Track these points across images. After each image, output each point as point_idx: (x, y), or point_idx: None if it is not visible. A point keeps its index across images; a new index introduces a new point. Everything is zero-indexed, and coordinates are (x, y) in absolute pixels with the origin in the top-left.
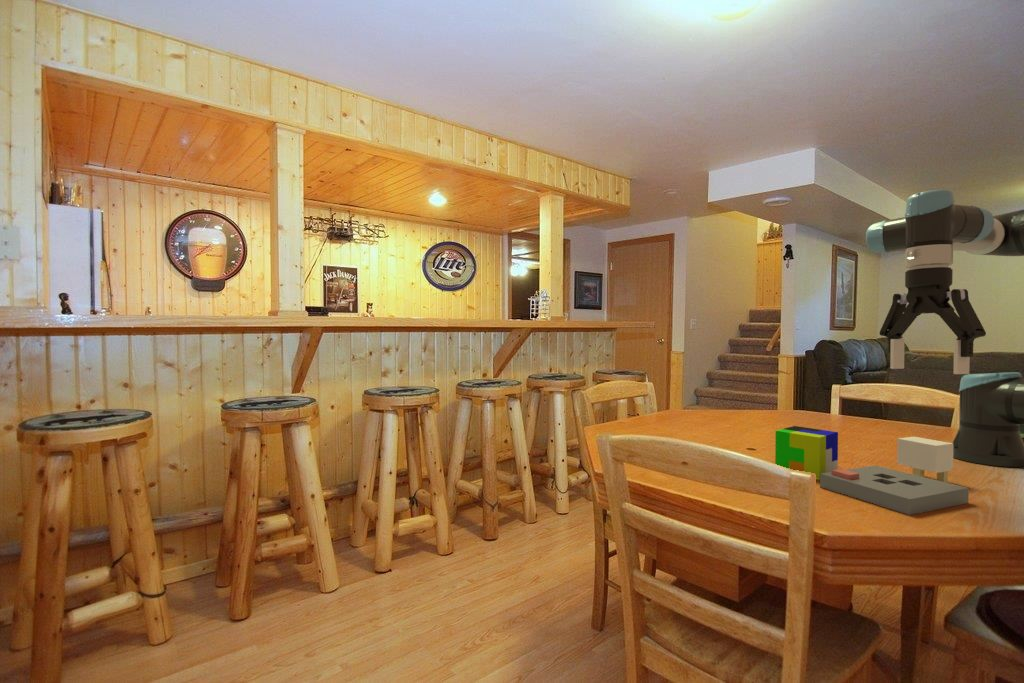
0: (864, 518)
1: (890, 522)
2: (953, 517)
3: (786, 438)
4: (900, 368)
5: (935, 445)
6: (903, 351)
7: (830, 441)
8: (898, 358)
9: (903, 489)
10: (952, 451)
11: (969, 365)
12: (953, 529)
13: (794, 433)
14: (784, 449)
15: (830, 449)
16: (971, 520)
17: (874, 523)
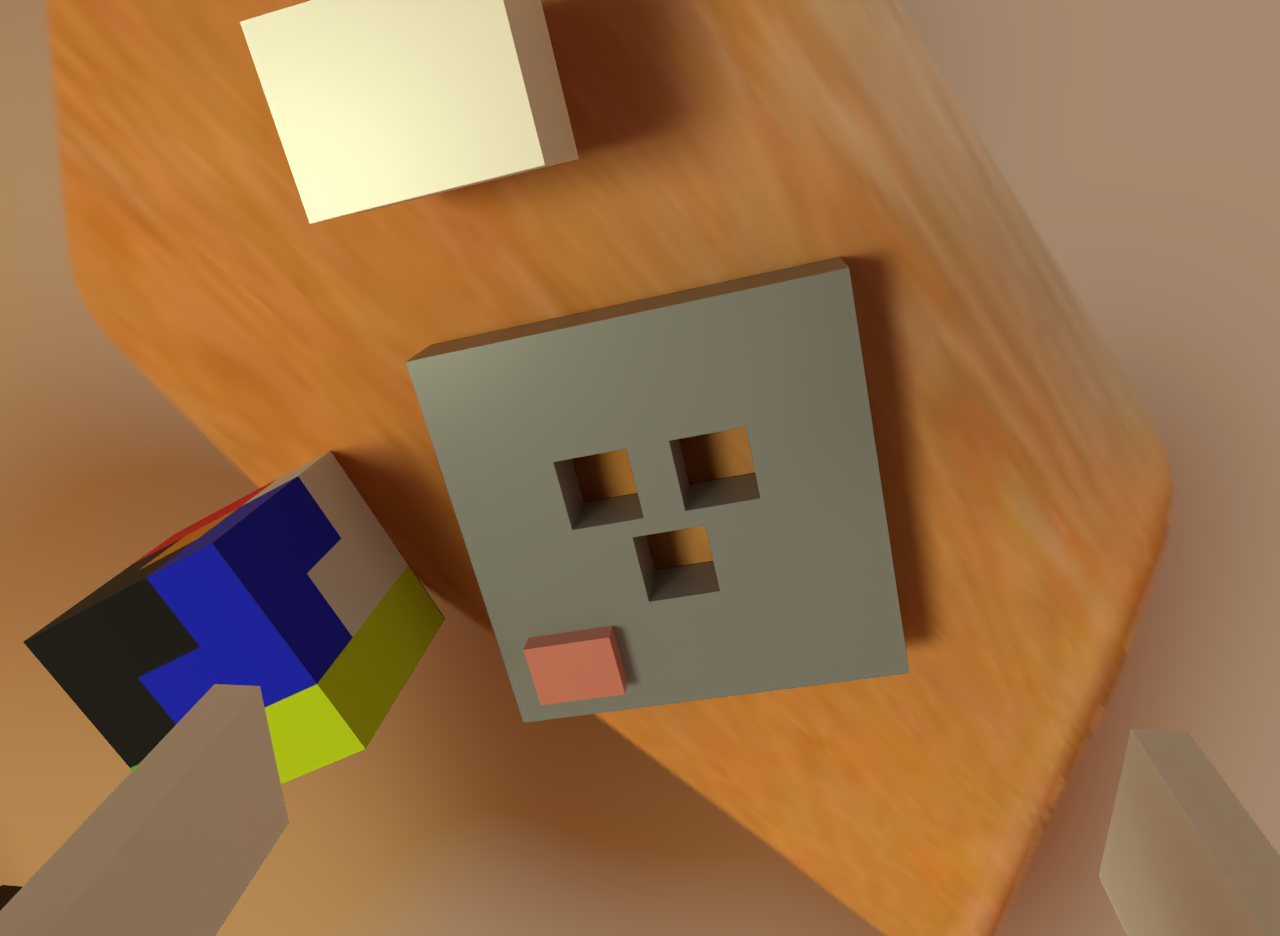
0: (881, 796)
1: (936, 751)
2: (963, 501)
3: None
4: (270, 738)
5: (533, 160)
6: (102, 895)
7: (301, 611)
8: (195, 871)
9: (797, 587)
10: None
11: (1250, 817)
12: (1055, 616)
13: None
14: None
15: (321, 586)
16: (1010, 466)
17: (928, 803)
